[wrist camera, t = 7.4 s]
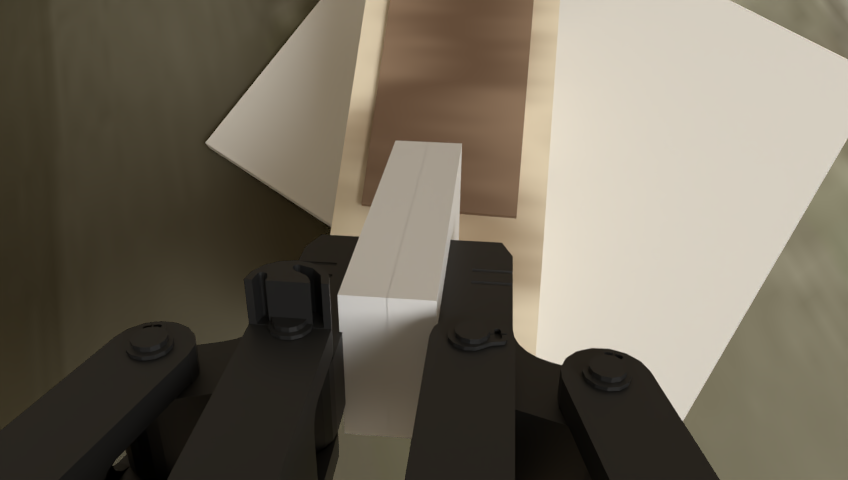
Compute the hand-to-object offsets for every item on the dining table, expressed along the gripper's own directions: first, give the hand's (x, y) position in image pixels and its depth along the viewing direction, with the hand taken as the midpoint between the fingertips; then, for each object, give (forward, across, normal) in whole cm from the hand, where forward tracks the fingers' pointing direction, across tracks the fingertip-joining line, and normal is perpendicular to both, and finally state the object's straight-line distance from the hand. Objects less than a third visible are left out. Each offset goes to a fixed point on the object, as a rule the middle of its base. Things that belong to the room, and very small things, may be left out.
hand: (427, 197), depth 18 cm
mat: (+13, +3, -2) cm, 13 cm away
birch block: (+3, 0, -7) cm, 8 cm away
